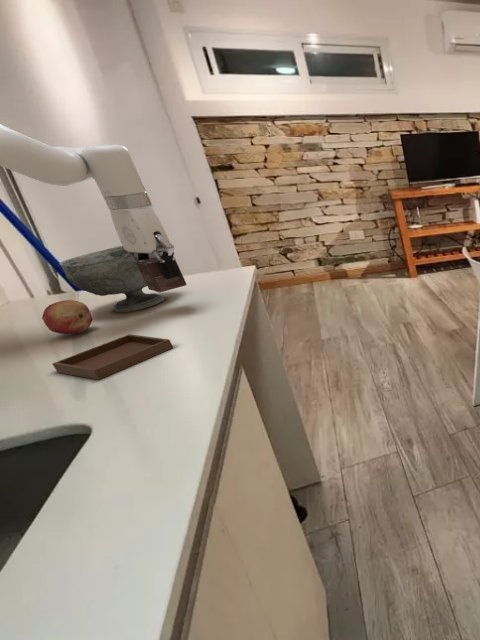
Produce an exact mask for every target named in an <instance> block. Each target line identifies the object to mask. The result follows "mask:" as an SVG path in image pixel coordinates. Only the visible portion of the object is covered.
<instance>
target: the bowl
mask: <svg viewBox="0 0 480 640" xmlns="http://www.w3.org/2000/svg"><path fill="white" fill-rule="evenodd" d="M156 249H157V248H156ZM162 253H163V252H160V255H161V256H162ZM150 256H151V258H154V257H156V256H155V255H154V254H153V252H152V253H150ZM136 262H137V261H136V260H135V258H134V255H133V254H132V253H130V252H128V251H126V250H125V249H124V247H123V245H118V246H114V247H110V248H104V249H101V250H96V251H93V252H88V253H85V254H81V255H77V256H74V257H71V258H68V259H65V260H62V261H61V262H59V265H60V267H61V269H62V270H63V272H64V274H65V277H66V278H67V280H68V281H69V282H70V283H71V284H72V285H73V286H74V287H76V288H78V289H79V290H82V291H84V292H86V293H90V294H93V295H96V296H100V297H106V296H111V295H114V296H115V295H120V294H123V295H124V296H125V298H124V299H121V300H120V301H117V302H116V303H115V304H114V305H113V309H114V311H115V312H118V313H128V312H129V313H130V312H136V311H139V310H143V309H147V308H150V307H152V306H155V305H157V304H159V303H161V302H163V301H165V298H164V296H162V294H158V293H155V292H154V293H153V292H151V293H145V292H144V291H143V289H144V288H147V287H148V286H147V284H146V282H145V280H144V278H143V276H142V274H141V272H140V270H139V268H138V266H137V264H136Z"/></svg>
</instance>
